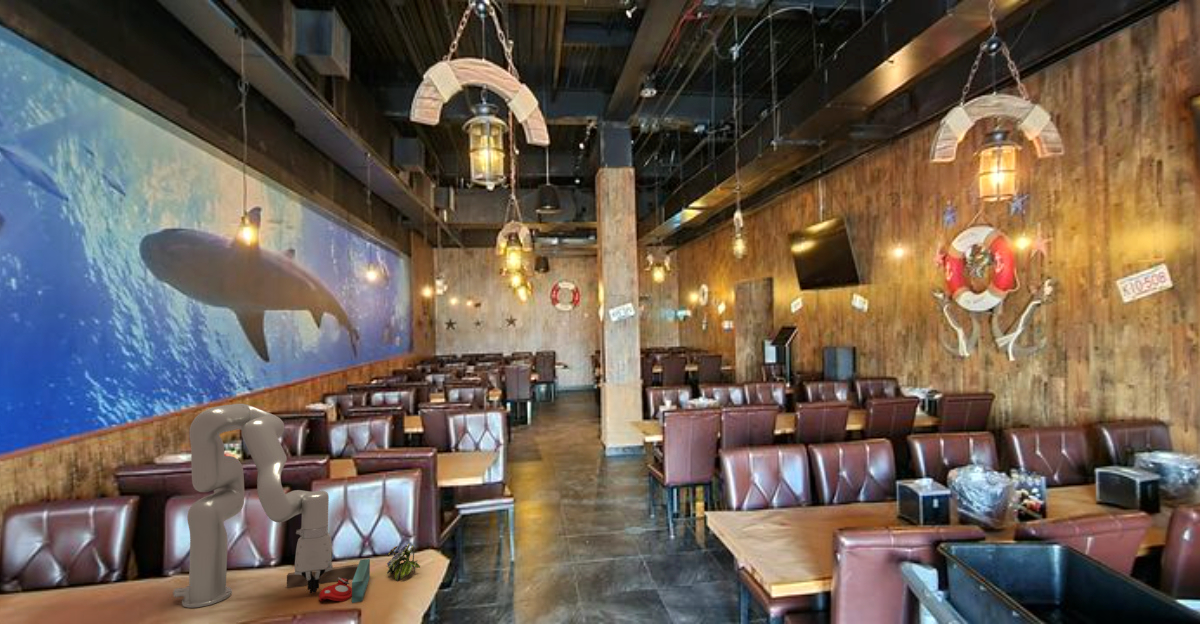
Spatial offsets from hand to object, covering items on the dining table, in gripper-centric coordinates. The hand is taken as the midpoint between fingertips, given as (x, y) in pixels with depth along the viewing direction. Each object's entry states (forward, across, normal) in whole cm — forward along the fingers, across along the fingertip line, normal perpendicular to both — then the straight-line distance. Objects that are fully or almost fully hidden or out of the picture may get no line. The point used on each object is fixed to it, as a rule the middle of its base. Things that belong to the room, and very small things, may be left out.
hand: (313, 591), depth 169 cm
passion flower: (+1, +27, +6) cm, 27 cm away
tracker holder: (+1, +8, -4) cm, 9 cm away
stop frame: (+1, +3, -1) cm, 3 cm away
